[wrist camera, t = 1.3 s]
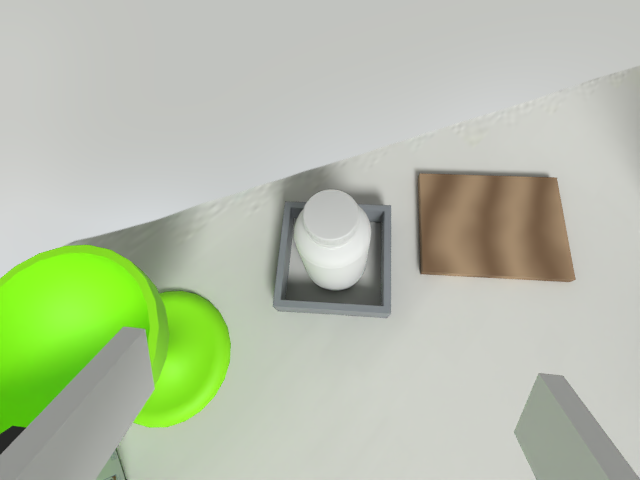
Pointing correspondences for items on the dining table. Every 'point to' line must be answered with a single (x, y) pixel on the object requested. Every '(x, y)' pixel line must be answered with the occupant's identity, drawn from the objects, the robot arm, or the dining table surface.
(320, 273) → the pill bottle
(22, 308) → the wineglass
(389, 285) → the bin
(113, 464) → the light bulb box
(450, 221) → the board
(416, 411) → the dining table surface
